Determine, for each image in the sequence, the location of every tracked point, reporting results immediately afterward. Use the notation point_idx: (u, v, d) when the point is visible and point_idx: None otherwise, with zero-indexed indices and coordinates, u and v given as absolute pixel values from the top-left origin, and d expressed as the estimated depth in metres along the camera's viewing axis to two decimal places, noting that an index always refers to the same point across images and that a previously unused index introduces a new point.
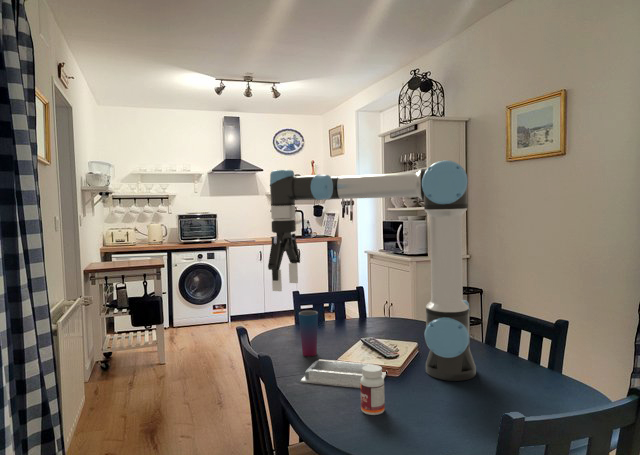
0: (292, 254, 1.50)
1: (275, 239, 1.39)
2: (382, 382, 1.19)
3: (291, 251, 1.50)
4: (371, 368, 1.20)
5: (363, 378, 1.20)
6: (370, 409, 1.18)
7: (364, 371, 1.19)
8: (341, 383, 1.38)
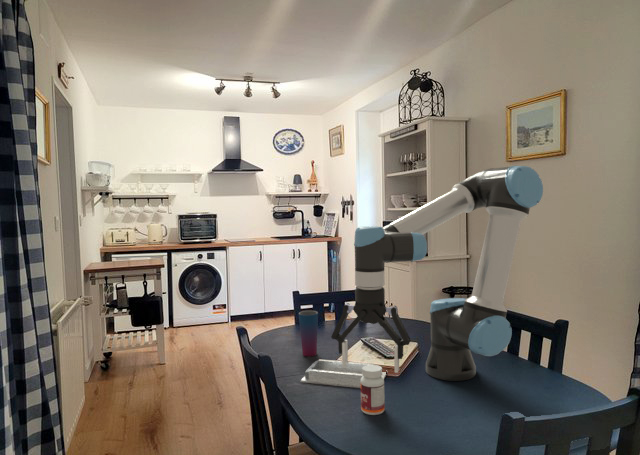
0: None
1: None
2: (382, 382, 1.19)
3: None
4: (371, 368, 1.20)
5: (363, 378, 1.20)
6: (370, 409, 1.18)
7: (364, 371, 1.19)
8: (341, 383, 1.38)
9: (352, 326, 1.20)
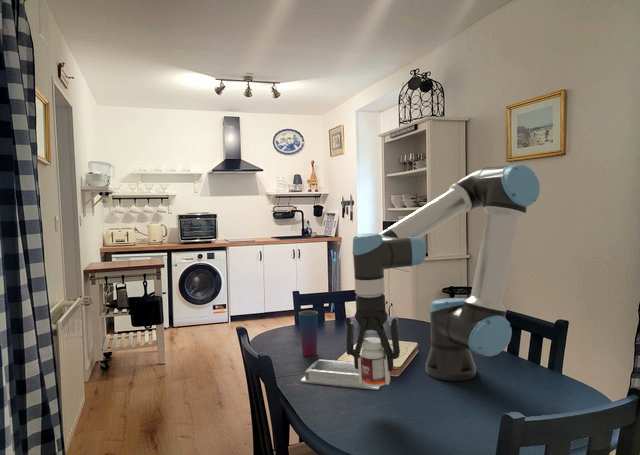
0: None
1: None
2: (383, 354, 1.18)
3: None
4: (372, 340, 1.20)
5: (364, 351, 1.19)
6: (372, 381, 1.18)
7: (365, 343, 1.19)
8: (341, 383, 1.38)
9: (361, 337, 1.20)
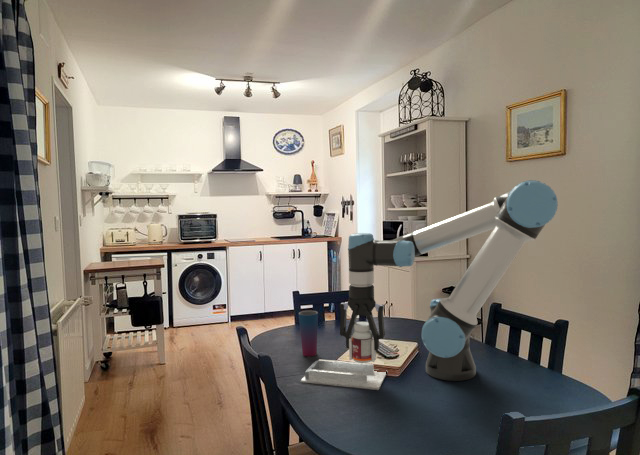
0: None
1: None
2: (370, 335, 1.40)
3: None
4: (361, 324, 1.41)
5: (354, 332, 1.41)
6: (360, 358, 1.39)
7: (355, 326, 1.40)
8: (341, 383, 1.38)
9: (352, 321, 1.41)
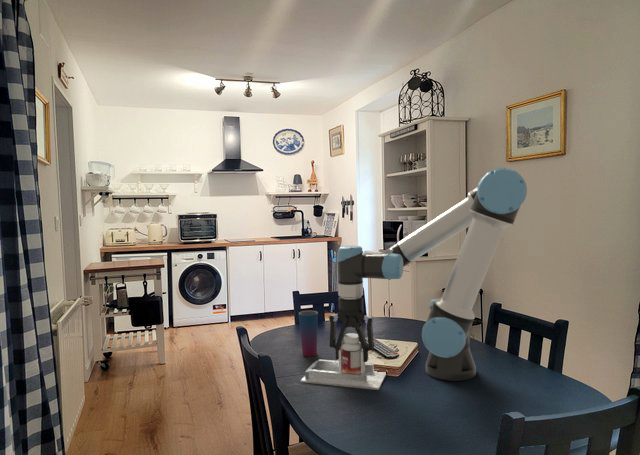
0: None
1: None
2: (360, 347, 1.41)
3: None
4: (351, 335, 1.42)
5: (344, 344, 1.42)
6: (350, 369, 1.40)
7: (345, 338, 1.41)
8: (341, 383, 1.38)
9: (341, 333, 1.42)
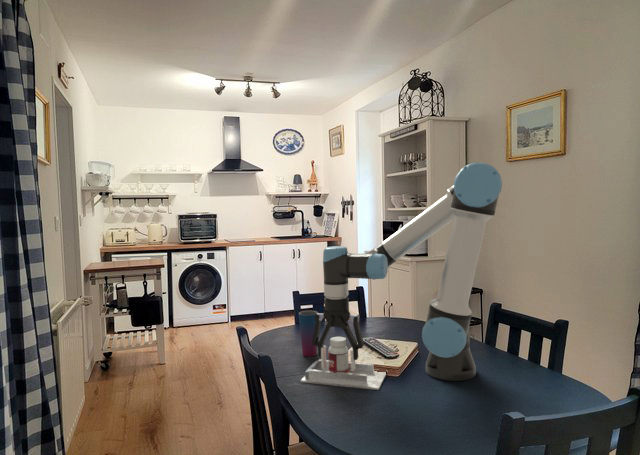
0: None
1: None
2: (346, 350, 1.42)
3: None
4: (337, 339, 1.44)
5: (330, 347, 1.43)
6: None
7: (331, 341, 1.43)
8: (341, 383, 1.38)
9: (325, 332, 1.44)
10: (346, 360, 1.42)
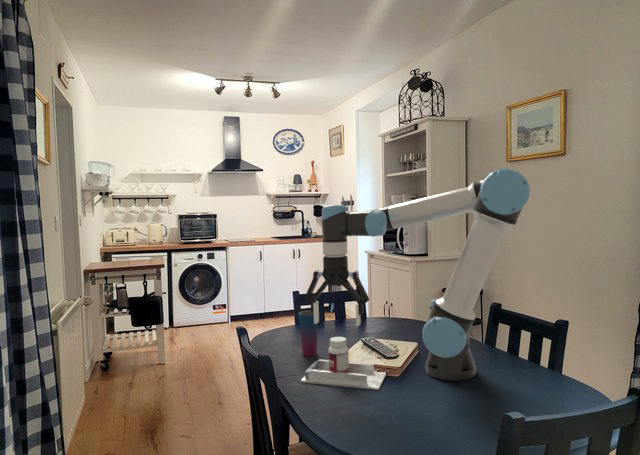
0: None
1: None
2: (346, 350, 1.42)
3: None
4: (337, 339, 1.44)
5: (330, 347, 1.43)
6: None
7: (331, 341, 1.42)
8: (341, 383, 1.38)
9: (321, 289, 1.43)
10: (346, 360, 1.42)
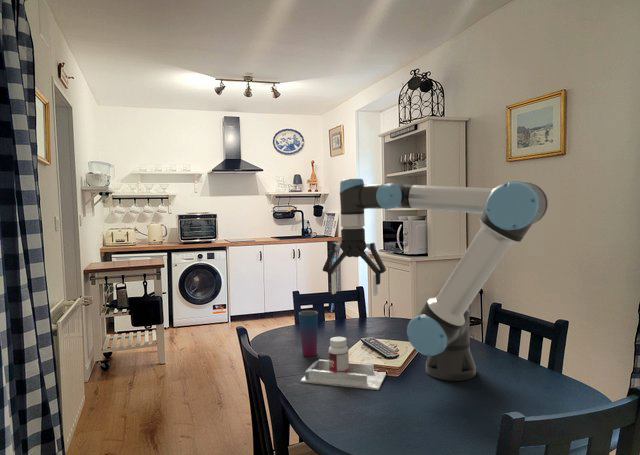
0: None
1: None
2: (346, 350, 1.42)
3: None
4: (337, 339, 1.44)
5: (330, 347, 1.43)
6: None
7: (331, 341, 1.43)
8: (341, 383, 1.38)
9: (339, 260, 1.48)
10: (346, 360, 1.42)
